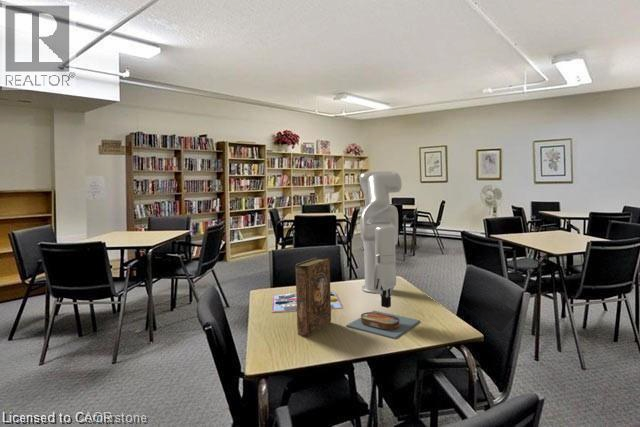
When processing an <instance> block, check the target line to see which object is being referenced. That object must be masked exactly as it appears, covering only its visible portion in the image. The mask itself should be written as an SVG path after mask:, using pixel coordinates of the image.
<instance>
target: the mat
mask: <svg viewBox="0 0 640 427" xmlns="http://www.w3.org/2000/svg"><path fill="white" fill-rule="evenodd" d="M371 312H376V313H381V314H386V315H390V316H395V317H397V318H399V320H400V321H399V327H398V328H396V329H394V330H383V329H379V328H375V327H371V326H367V325H364V324H363V323H362V322H361V317H359V318H358V319H356V320H354V321H352V322H349V323H348V324H346V327H347V328H350V329H354V330H358V331H362V332H365V333H370V334H373V335H377V336H381V337H385V338H389V339H393V340H396V339H398V338H399V337H401V335H403V334H405V333H406V332H407V331H409V330H410V329H412V328H413V327H414V326H416V325H417V324H419V323H420V322H421V320H420V319H417V318H416V319H415V318H412V317H411V318H410V317H406V316H401V315H397V314H391V313H388V312H383V311H377V310H373V311H371Z"/></svg>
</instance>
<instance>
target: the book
mask: <svg viewBox="0 0 640 427" xmlns="http://www.w3.org/2000/svg"><path fill="white" fill-rule="evenodd" d="M330 263H331V262H330V258H319V257H313V258H310V259H308V260H305V261H302V262H300V263H299V262H298V263H295V294H296V299H297V311H296V316H297V317H296V323H297V324H296V325H297V327H296V328H297V335H298V336H301V337H307V338H308V337H311V336H313V335H314V334H316V333H317V332H319V331H320V330H322V329H323V328H324V327H326V326H328V325H329V324H330V323H331V321H332V309H331V295H330V291H331V266H330V265H331V264H330Z"/></svg>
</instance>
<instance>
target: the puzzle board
mask: <svg viewBox="0 0 640 427" xmlns="http://www.w3.org/2000/svg"><path fill="white" fill-rule="evenodd" d="M330 295H331V310H338V309H339V310H340V309H344V307H343V305H342V303H341V300H340V299H339V297H338V295H337V292H333V291H331V290H330ZM289 312H290V313H291V312H293V313H294V312H297V299H296V292H293V293H292V292H290V293H286V294H273V295H272V300H271V313H272V314H276V313H277V314H278V313H289Z"/></svg>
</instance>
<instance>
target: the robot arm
mask: <svg viewBox="0 0 640 427" xmlns="http://www.w3.org/2000/svg"><path fill="white" fill-rule="evenodd" d="M359 185H360V188H361V190H362V193H363V195H364V196H363V197H364V209H363V211H362V213H361V214H360V218H359V219H360V220H359V225H360V226H359V228H360V230H359V231H360V238H361V240H362V243H363V244H362V245H363V255H364V256H363V258H364V264H363V265H364V285H362V286H361V290H362V291H363V292H366V293H371V294H373V293H376V294H377V295H380V300H381V301H380V303H381V304H380V305H381V307H384V308H386V309H389V308H391V307H392V300H391V299H392V297H391V296H392V291H393V289H394V288H395V286H396V285H397V269H396V261H397V260H396V257H397V255H396V245H397V244H398V241H399V212H398V208H397V207H396V206H395V205H393V204H391V203H390V195H389V193H391V194H392V193H394V194H396V193H399V192H401V191H402V187H403V186H402V185H403V183H402V179H401V176H400V174H399V173H398V172H397V171H394V170H393V171H389V170H388V171H366V172H362V173H361V174H360V175H359Z"/></svg>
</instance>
